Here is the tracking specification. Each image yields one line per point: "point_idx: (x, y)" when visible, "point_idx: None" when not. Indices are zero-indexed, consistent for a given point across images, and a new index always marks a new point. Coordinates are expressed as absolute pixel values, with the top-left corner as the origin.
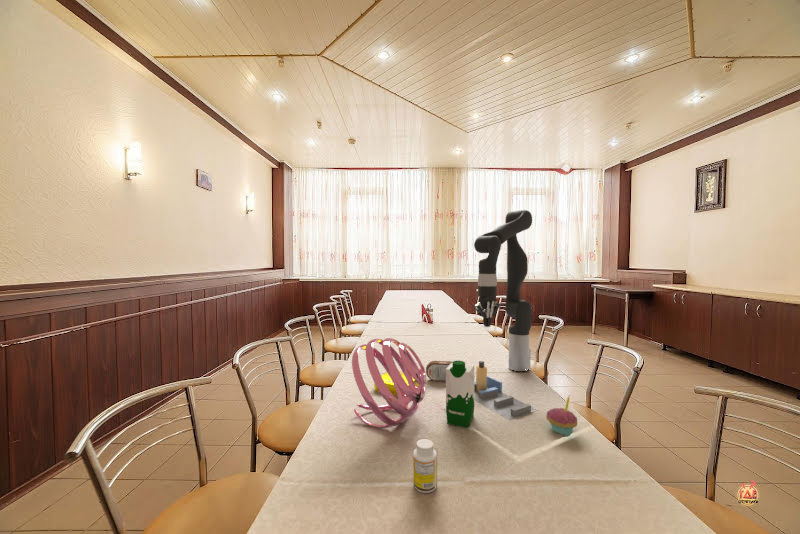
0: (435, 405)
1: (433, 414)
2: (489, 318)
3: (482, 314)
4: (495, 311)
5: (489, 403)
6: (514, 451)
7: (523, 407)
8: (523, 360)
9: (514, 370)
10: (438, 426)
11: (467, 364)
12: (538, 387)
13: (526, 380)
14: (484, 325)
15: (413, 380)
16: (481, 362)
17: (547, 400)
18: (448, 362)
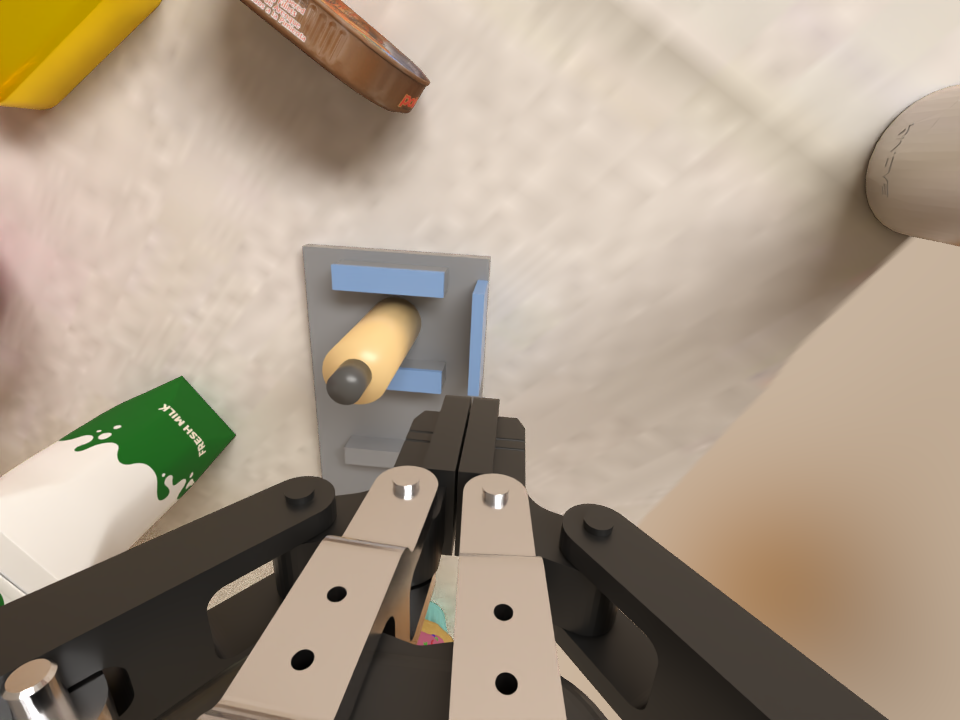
0: (147, 280)
1: (109, 336)
2: (459, 551)
3: (242, 611)
4: (630, 689)
5: (349, 414)
6: (237, 592)
7: None
8: (953, 242)
9: (869, 182)
10: (95, 409)
11: (42, 573)
12: (708, 410)
13: (758, 323)
14: (444, 403)
15: (54, 41)
16: (336, 395)
17: (599, 499)
18: (315, 24)
